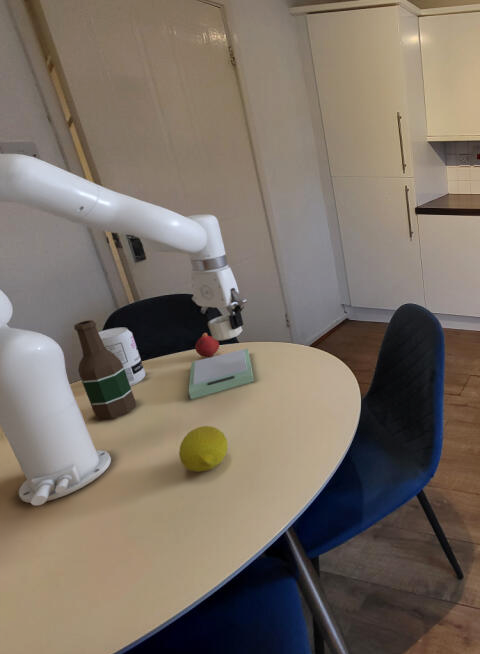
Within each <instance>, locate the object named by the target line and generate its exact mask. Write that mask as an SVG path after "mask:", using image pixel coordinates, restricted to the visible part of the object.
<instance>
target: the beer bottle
mask: <svg viewBox="0 0 480 654" xmlns="http://www.w3.org/2000/svg"><path fill="white" fill-rule="evenodd" d="M97 325H98V324H97V323H96V322H95V321H94V320H93V319H92V320H91V319H89V320H84V321H79V322H77V323H75V324H74V325H73V329H74V331H76V332H77V336H78V339H79V343H80V347H81V350H82V357H81V360H80V362H79V363H78V369H77V370H78V371H77V372H78V374H79V378H80V380H81V384H82V386H83V388H84V391H85V393H86V397H87V398H88V401H89V404H90V406H91V409H92V411H93V413H94V415H95V417H96V418H97V420H98V421H109V420H115V419H117V418H120V417H122V416H125V415H127V414H128V413H130V412H131V411H132V410H133V409H134V408H135V407H136V406H137V402H136V399H135V396H134V393H133V390H132V386H130V384H129V381H128V378H127V376H126V373H125V370H124V367H123V365H122V363H121V361H120V360H119V359H118V358H117V357H116V356H115V355H114V354H113V353H112V352H110V351H108V350H107V349H106V348H105V346H104V344H103V342H102V340H101V338H100V335H99V331H98V329H97Z"/></svg>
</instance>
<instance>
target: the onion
mask: <svg viewBox="0 0 480 654" xmlns="http://www.w3.org/2000/svg"><path fill="white" fill-rule="evenodd" d="M194 349H195V352H196V353H197V354H198V355H199V356H201V357H205V358H210V357H214V355H216V353H217V352H218V351H219V349H220V342H219V340H215V339H213V337H212V335H208V333H207V332H204V333H203V334H202V335H201V337H200V338H198V340H196V343H195V347H194Z"/></svg>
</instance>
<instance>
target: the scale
mask: <svg viewBox="0 0 480 654" xmlns="http://www.w3.org/2000/svg"><path fill="white" fill-rule="evenodd" d="M254 382H255V380H254V375H253V369H252V362H251V357H250V352H249V349H248V348H243V349H239V350H234V351H231V352H227V353H223V354H219V355H215V356H214V355H213V356H212V357H205V358H202V359H197V360H195V361H192V362H191V364H190V373H189V384H188V395H189V398H190V400H193V399H197V398H198V399H199V398H201V397H205V396H209V395H211V394H215V393H219V392H222V391H226V390H229V389H233V388H237V387H239V386H243V385H246V384H250V383H254Z"/></svg>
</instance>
